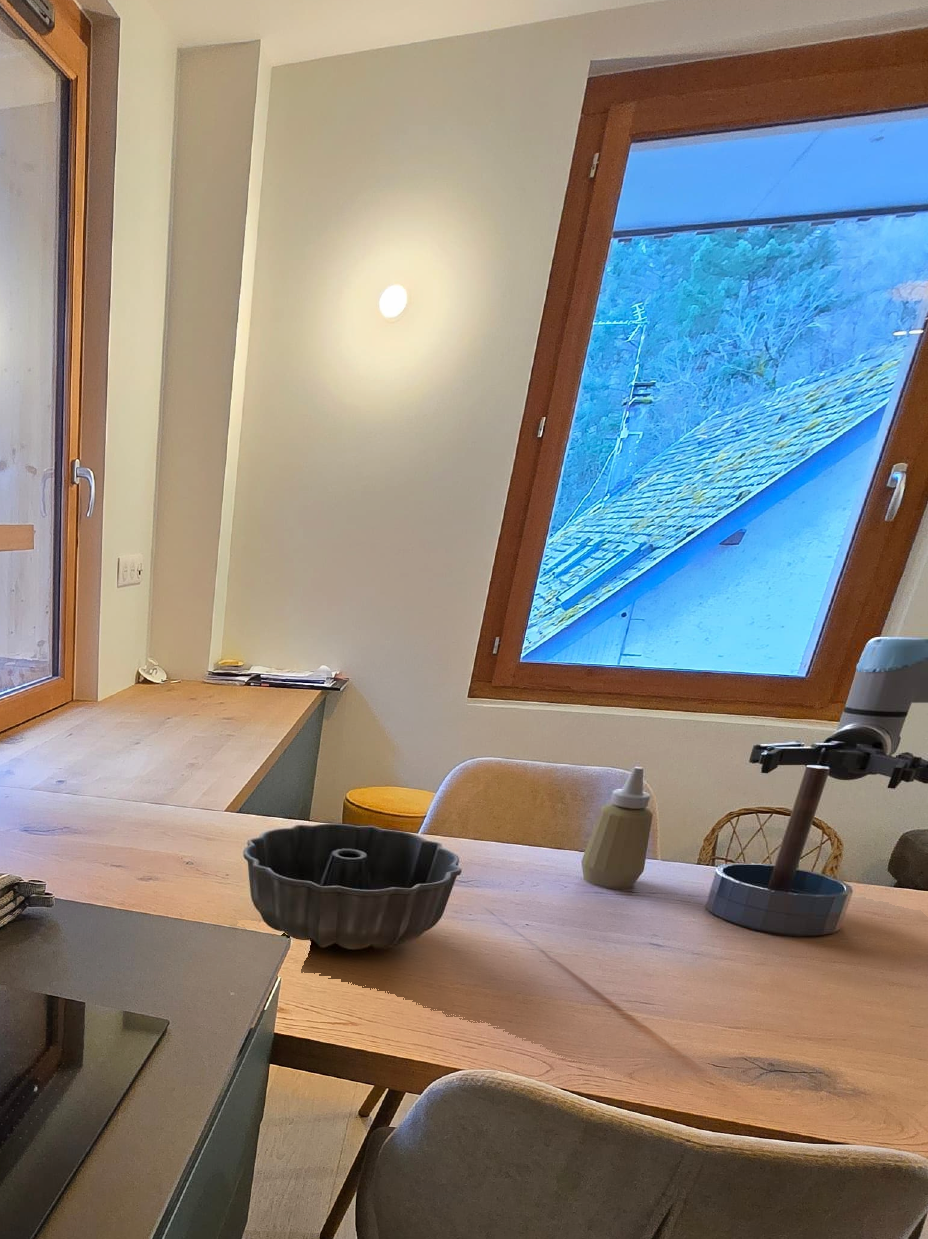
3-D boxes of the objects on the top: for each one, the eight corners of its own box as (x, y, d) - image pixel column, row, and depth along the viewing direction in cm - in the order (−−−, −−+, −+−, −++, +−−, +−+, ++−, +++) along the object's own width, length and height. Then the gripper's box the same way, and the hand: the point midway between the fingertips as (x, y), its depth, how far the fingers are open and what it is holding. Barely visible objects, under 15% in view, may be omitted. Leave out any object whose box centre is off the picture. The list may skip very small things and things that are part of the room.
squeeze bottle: (578, 893, 139) (609, 772, 132) (572, 875, 146) (602, 758, 138) (642, 900, 137) (677, 777, 129) (633, 881, 143) (666, 763, 136)
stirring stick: (802, 921, 126) (853, 771, 119) (765, 921, 126) (814, 770, 118) (774, 909, 131) (822, 763, 123) (738, 909, 131) (784, 763, 123)
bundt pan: (195, 918, 128) (200, 847, 124) (321, 874, 142) (329, 809, 138) (362, 989, 109) (375, 908, 105) (488, 931, 123) (504, 857, 119)
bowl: (866, 940, 122) (882, 896, 120) (754, 941, 122) (768, 896, 120) (781, 903, 136) (794, 862, 133) (679, 903, 135) (691, 862, 133)
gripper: (957, 790, 134) (942, 814, 121) (745, 765, 151) (711, 784, 137) (977, 736, 132) (964, 754, 118) (759, 716, 148) (726, 731, 134)
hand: (828, 770), depth 128 cm, fingers open, 13 cm apart
